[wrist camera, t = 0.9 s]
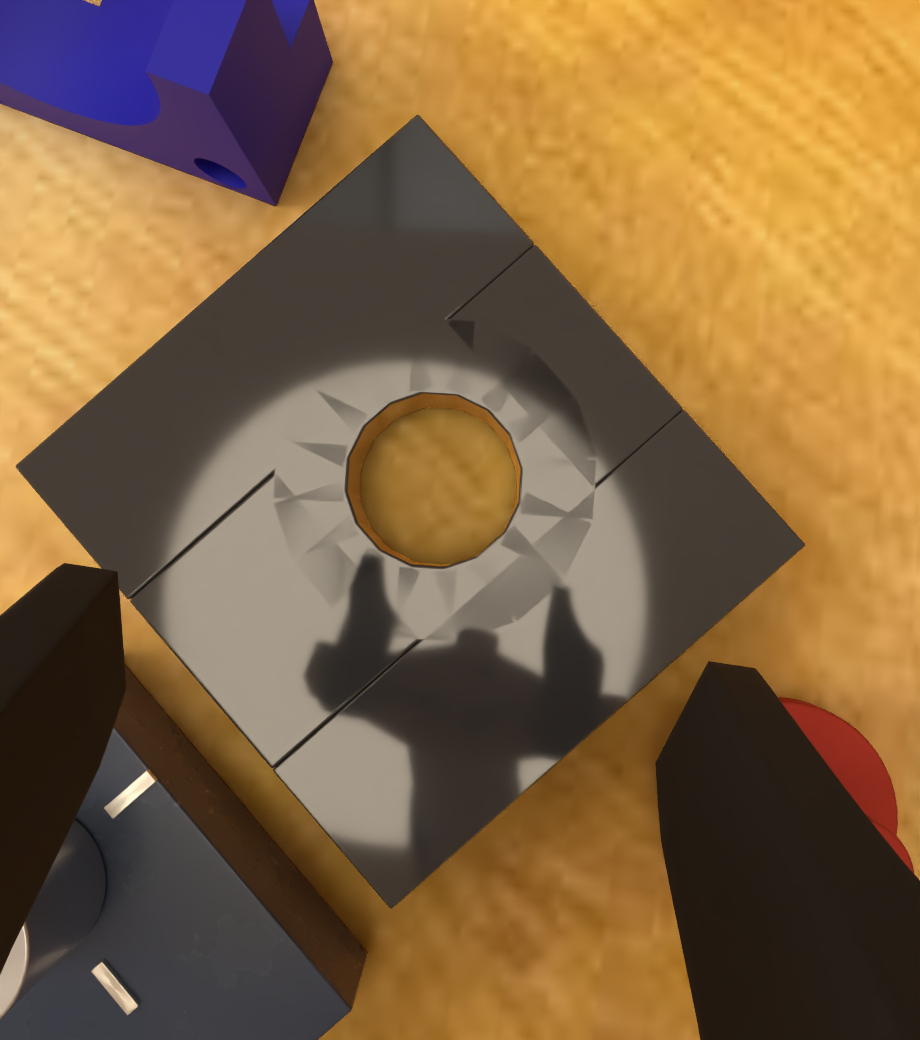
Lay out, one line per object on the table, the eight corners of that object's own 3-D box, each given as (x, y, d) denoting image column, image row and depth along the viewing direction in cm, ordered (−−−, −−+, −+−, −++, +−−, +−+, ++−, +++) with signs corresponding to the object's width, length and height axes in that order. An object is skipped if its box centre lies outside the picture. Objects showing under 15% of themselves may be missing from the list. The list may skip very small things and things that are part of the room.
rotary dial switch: (368, 952, 24) (351, 1014, 20) (152, 1142, 24) (101, 1233, 20) (103, 638, 24) (47, 652, 21) (-109, 824, 24) (-198, 866, 21)
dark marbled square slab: (776, 545, 24) (806, 545, 22) (399, 876, 24) (390, 910, 22) (423, 152, 24) (417, 112, 22) (55, 473, 24) (13, 466, 22)
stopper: (896, 798, 23) (1057, 895, 17) (743, 932, 23) (844, 1082, 17) (758, 643, 24) (865, 680, 17) (607, 776, 24) (655, 864, 17)
